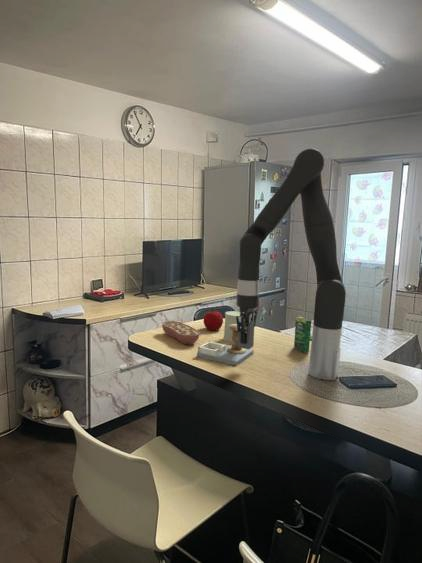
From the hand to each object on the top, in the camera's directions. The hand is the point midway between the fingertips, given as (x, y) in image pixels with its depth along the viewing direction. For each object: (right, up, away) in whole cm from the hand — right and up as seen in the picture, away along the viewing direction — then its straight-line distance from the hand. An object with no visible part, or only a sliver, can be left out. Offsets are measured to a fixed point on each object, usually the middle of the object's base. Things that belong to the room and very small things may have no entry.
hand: (246, 341), depth 142 cm
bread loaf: (-25, -4, +32) cm, 40 cm away
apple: (-11, -2, +49) cm, 51 cm away
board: (-7, -7, +14) cm, 17 cm away
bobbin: (-2, -6, +15) cm, 16 cm away
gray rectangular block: (0, -2, 0) cm, 2 cm away
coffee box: (+24, -7, +26) cm, 36 cm away
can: (-2, -4, +35) cm, 35 cm away
